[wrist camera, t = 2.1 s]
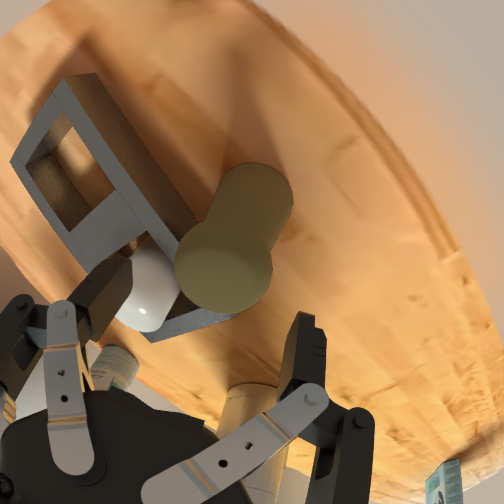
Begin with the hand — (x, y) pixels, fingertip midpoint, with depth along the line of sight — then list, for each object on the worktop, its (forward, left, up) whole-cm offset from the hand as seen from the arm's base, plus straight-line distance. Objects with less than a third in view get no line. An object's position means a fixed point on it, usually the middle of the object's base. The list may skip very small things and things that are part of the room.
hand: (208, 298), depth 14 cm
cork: (0, 0, -12) cm, 12 cm away
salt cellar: (-1, +11, -12) cm, 16 cm away
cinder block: (+5, +11, -12) cm, 17 cm away
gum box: (-84, -6, -12) cm, 85 cm away
